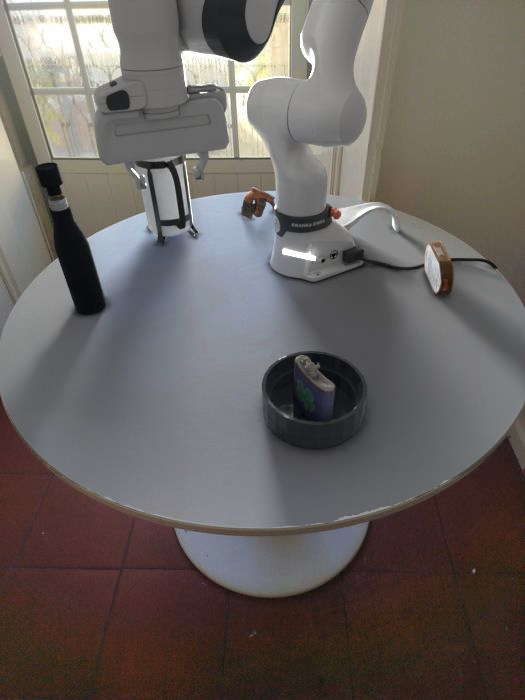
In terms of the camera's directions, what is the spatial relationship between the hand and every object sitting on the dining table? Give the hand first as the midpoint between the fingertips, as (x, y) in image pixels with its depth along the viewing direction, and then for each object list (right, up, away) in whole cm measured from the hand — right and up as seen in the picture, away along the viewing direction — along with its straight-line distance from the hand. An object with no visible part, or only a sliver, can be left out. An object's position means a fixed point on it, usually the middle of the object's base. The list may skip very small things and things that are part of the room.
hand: (170, 183), depth 76 cm
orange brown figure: (+14, +12, +59) cm, 61 cm away
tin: (+53, -13, +28) cm, 62 cm away
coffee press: (-9, +4, +51) cm, 51 cm away
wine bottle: (-22, -18, +25) cm, 38 cm away
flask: (+23, -37, -1) cm, 44 cm away
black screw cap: (+23, -37, 0) cm, 44 cm away
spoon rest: (+39, +5, +49) cm, 63 cm away
